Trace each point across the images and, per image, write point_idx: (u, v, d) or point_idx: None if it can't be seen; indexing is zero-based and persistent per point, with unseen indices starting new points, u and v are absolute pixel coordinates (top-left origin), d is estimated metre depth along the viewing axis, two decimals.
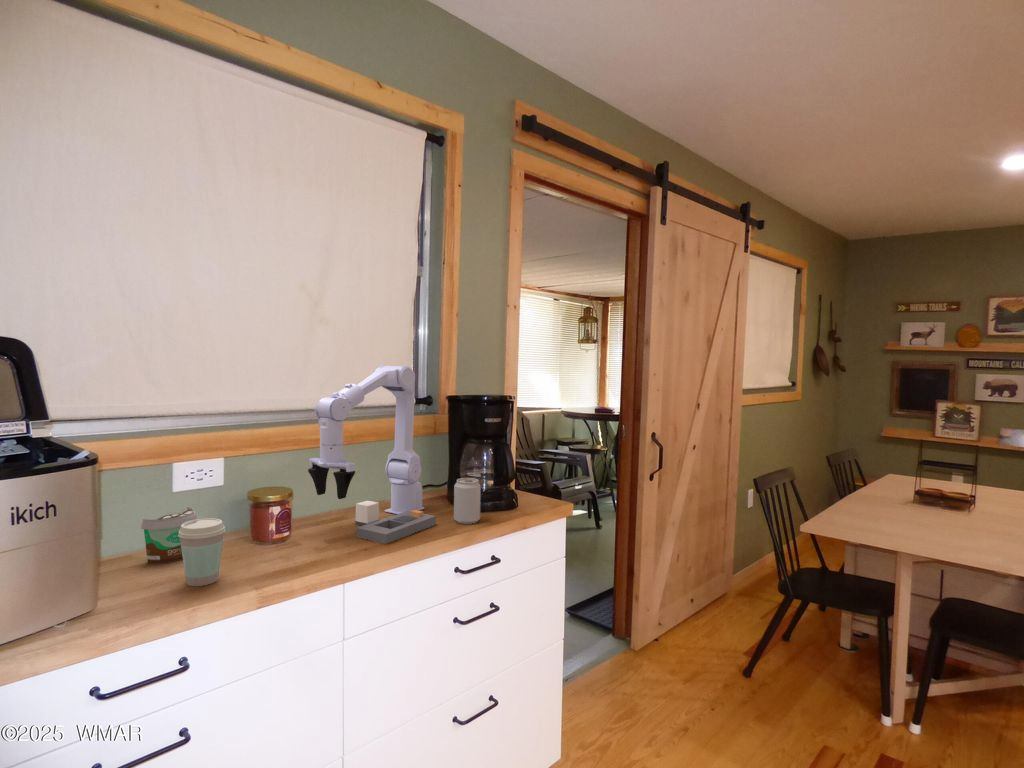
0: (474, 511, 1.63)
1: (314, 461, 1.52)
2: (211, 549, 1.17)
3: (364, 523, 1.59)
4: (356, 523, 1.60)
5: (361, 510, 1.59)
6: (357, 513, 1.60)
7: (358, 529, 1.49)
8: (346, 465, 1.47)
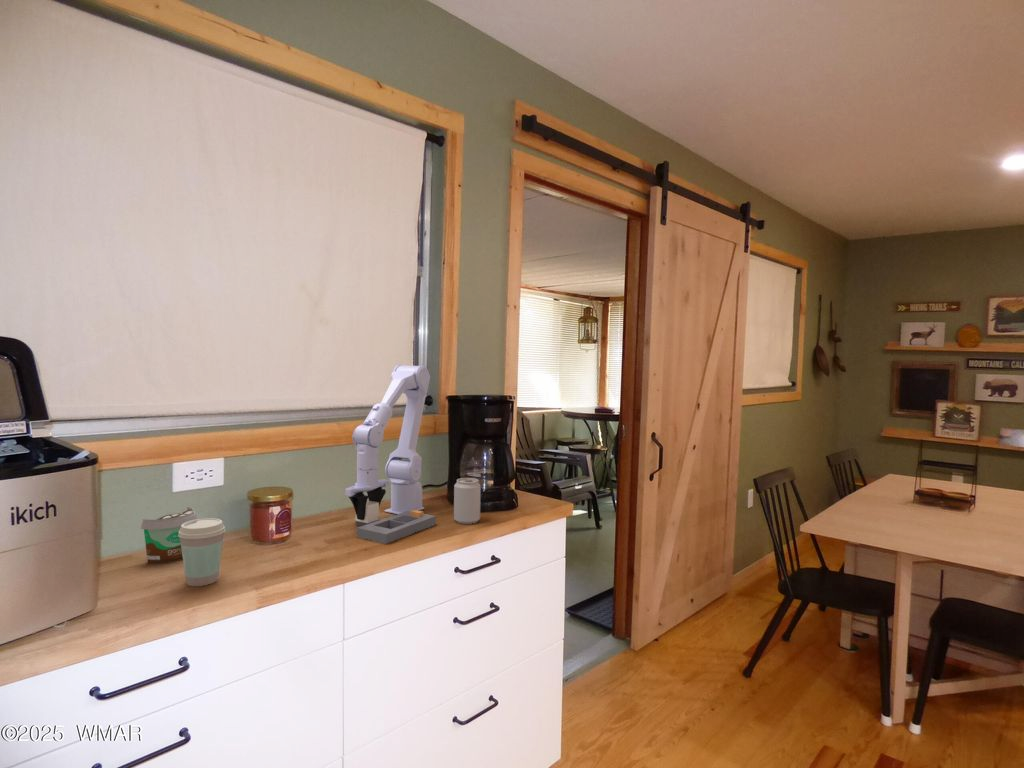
0: (474, 511, 1.63)
1: None
2: (211, 549, 1.17)
3: (364, 523, 1.59)
4: (356, 523, 1.60)
5: None
6: None
7: (358, 529, 1.49)
8: None
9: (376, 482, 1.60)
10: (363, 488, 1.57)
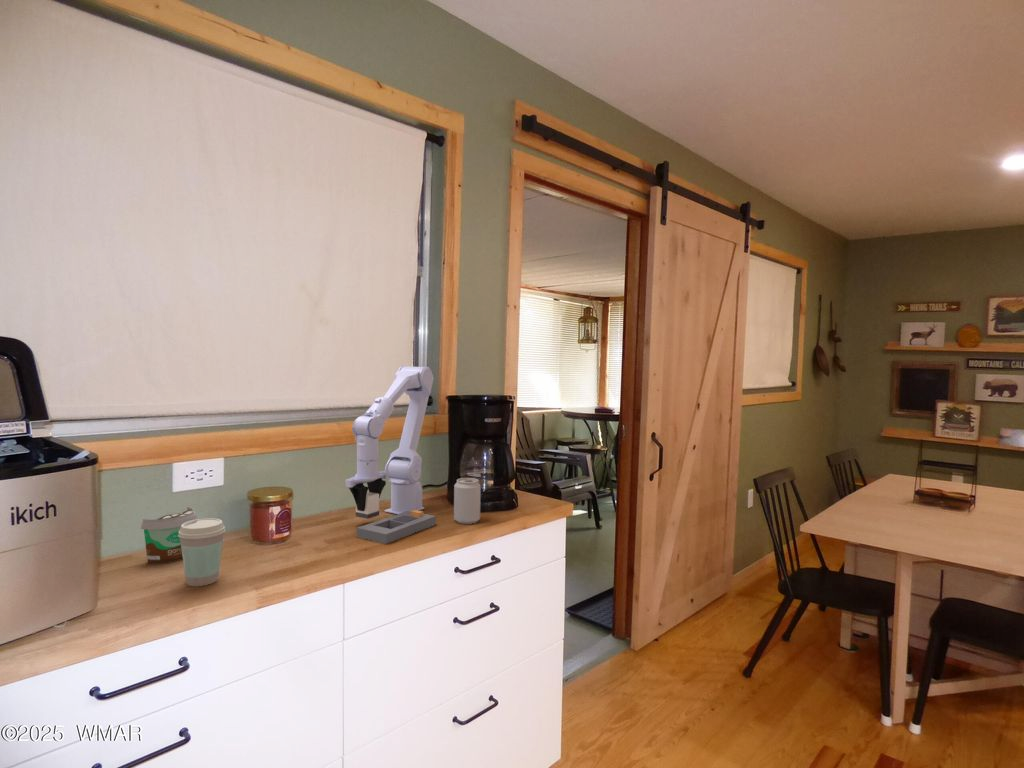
0: (474, 511, 1.63)
1: None
2: (211, 549, 1.17)
3: (364, 514, 1.59)
4: (356, 514, 1.60)
5: None
6: None
7: (358, 529, 1.49)
8: None
9: (376, 473, 1.60)
10: (363, 479, 1.57)
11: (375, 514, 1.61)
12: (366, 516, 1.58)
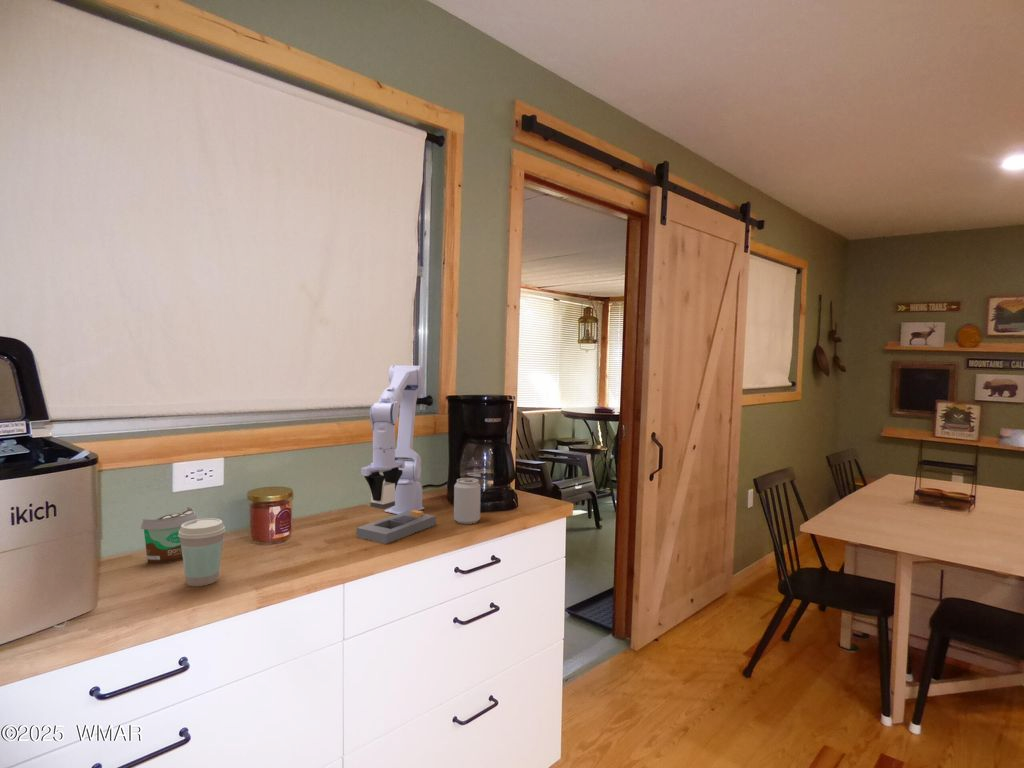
0: (474, 511, 1.63)
1: None
2: (211, 549, 1.17)
3: (380, 504, 1.53)
4: (371, 505, 1.54)
5: None
6: None
7: (358, 529, 1.49)
8: None
9: (393, 462, 1.54)
10: (379, 467, 1.51)
11: (391, 504, 1.55)
12: (381, 506, 1.52)
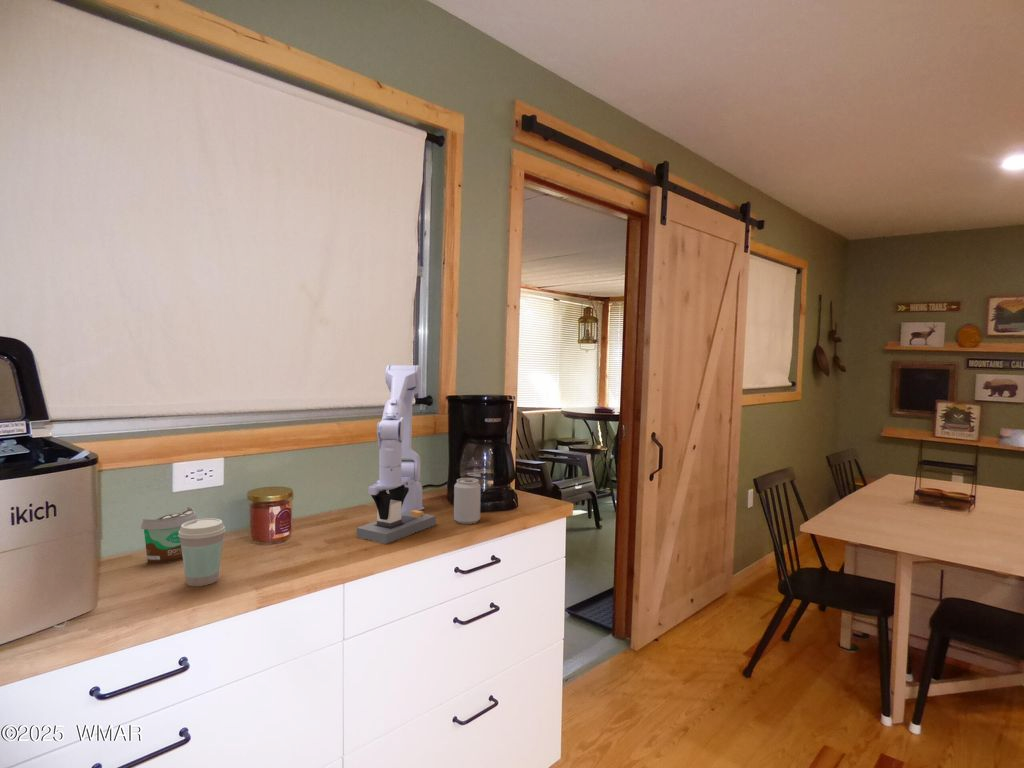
0: (474, 511, 1.63)
1: None
2: (211, 549, 1.17)
3: (387, 523, 1.51)
4: (377, 523, 1.52)
5: None
6: None
7: (358, 529, 1.49)
8: None
9: (400, 480, 1.52)
10: (387, 486, 1.49)
11: (397, 523, 1.53)
12: (389, 525, 1.50)
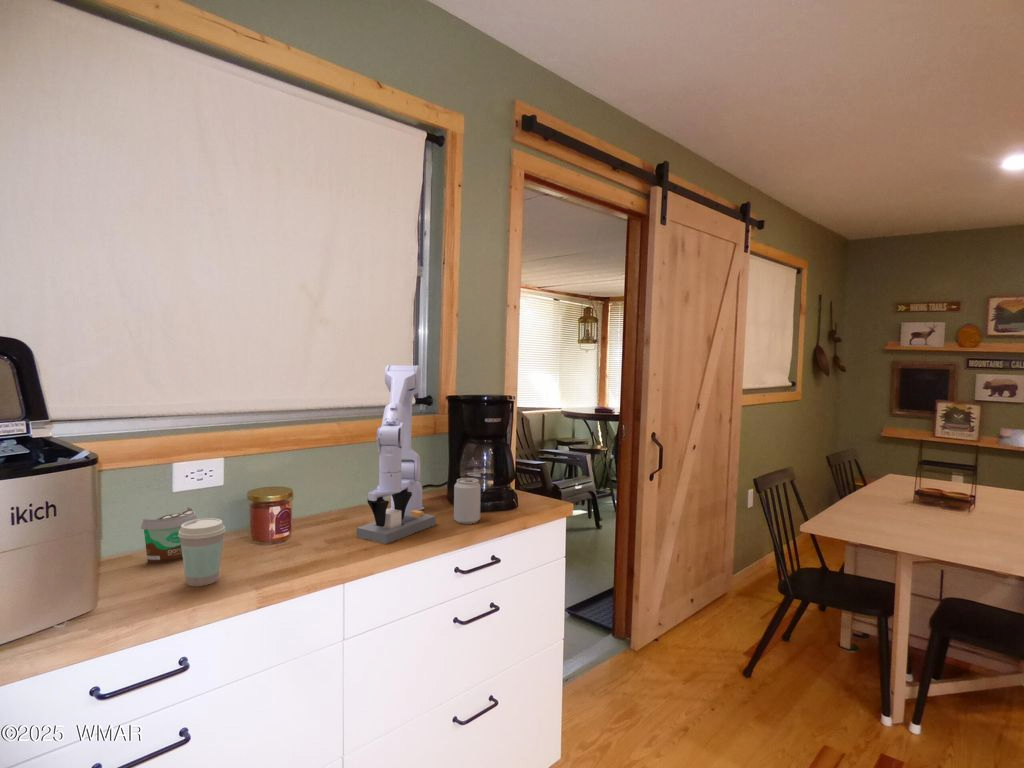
0: (474, 511, 1.63)
1: None
2: (211, 549, 1.17)
3: None
4: None
5: None
6: None
7: (358, 529, 1.49)
8: None
9: (400, 485, 1.52)
10: (387, 492, 1.49)
11: None
12: None
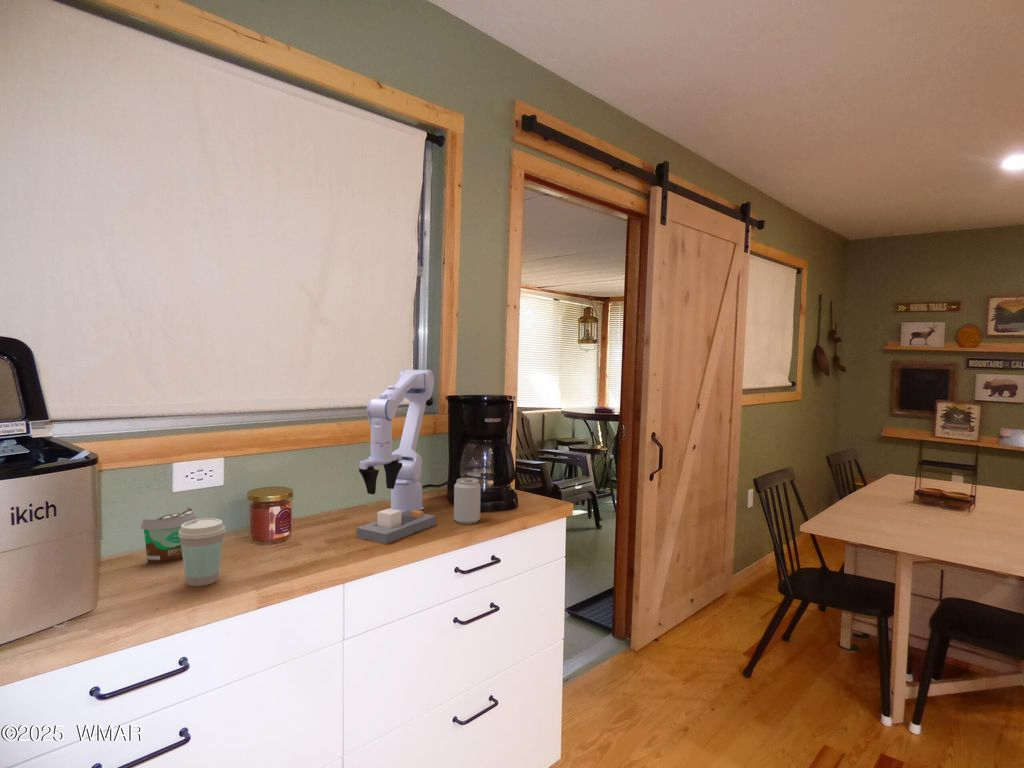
0: (474, 511, 1.63)
1: None
2: (211, 549, 1.17)
3: None
4: None
5: (383, 518, 1.51)
6: (379, 522, 1.52)
7: (358, 529, 1.49)
8: None
9: (390, 456, 1.60)
10: (377, 461, 1.57)
11: None
12: None
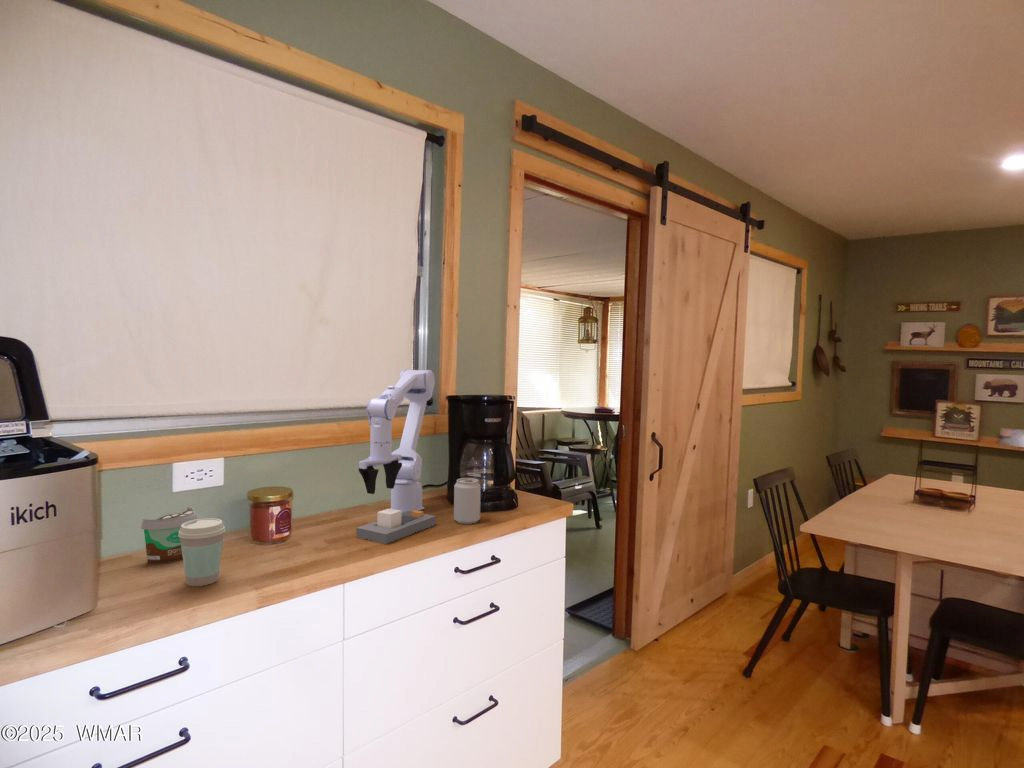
0: (474, 511, 1.63)
1: None
2: (211, 549, 1.17)
3: None
4: None
5: (383, 518, 1.51)
6: (379, 522, 1.52)
7: (358, 529, 1.49)
8: None
9: (389, 455, 1.60)
10: (377, 461, 1.57)
11: None
12: None
